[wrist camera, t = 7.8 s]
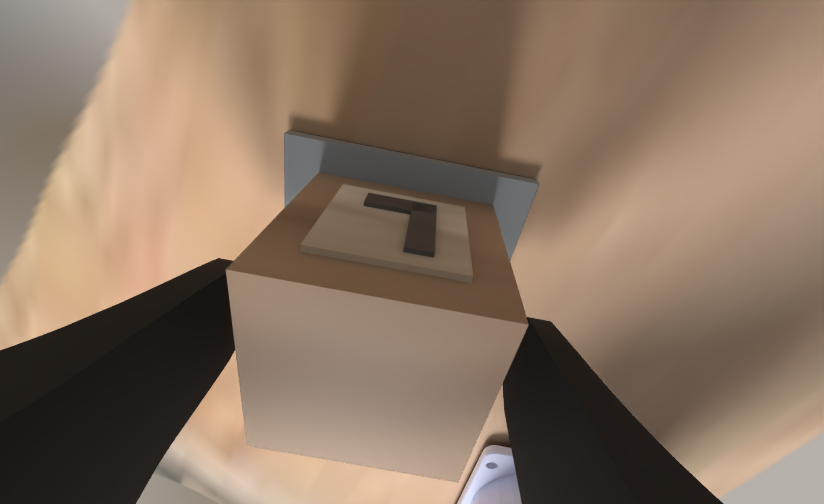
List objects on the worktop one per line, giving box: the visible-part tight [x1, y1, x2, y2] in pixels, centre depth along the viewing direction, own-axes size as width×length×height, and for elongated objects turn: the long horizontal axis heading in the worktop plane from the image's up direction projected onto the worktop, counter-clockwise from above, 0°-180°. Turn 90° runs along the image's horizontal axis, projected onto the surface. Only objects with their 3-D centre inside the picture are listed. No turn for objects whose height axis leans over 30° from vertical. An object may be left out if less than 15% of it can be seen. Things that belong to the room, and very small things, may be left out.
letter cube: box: [226, 172, 529, 483], centre depth 9 cm, size 5×5×5 cm
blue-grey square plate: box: [284, 130, 539, 260], centre depth 12 cm, size 7×7×1 cm
